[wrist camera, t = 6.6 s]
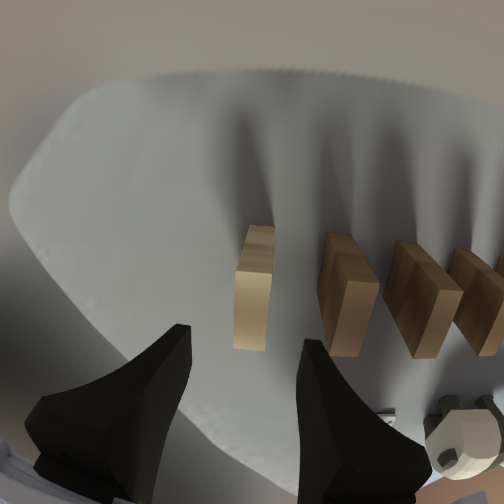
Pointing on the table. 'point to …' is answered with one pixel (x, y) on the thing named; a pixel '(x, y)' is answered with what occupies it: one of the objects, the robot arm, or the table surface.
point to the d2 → (500, 266)
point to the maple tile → (253, 288)
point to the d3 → (478, 302)
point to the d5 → (345, 295)
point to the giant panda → (465, 438)
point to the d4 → (421, 299)
